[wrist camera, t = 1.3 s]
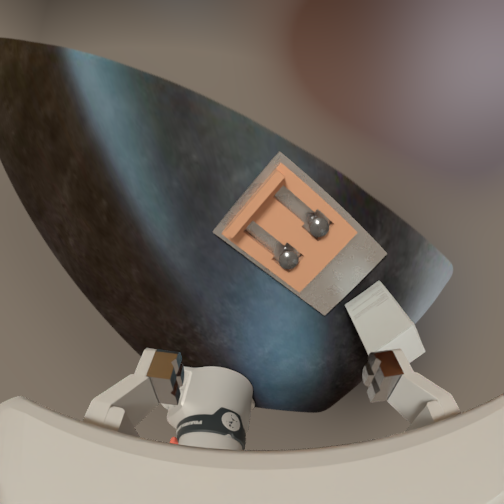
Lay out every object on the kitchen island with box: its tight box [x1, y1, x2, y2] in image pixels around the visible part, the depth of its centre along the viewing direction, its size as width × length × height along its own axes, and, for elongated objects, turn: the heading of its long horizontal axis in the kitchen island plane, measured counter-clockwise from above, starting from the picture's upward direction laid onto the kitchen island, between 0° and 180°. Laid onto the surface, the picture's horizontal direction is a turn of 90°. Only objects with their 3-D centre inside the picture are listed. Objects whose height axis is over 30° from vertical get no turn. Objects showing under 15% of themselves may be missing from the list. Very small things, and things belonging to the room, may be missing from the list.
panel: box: [222, 163, 358, 293], centre depth 36 cm, size 12×14×3 cm
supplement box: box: [345, 281, 425, 363], centre depth 37 cm, size 7×7×13 cm
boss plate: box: [213, 151, 387, 316], centre depth 37 cm, size 14×22×3 cm, turn 51°
